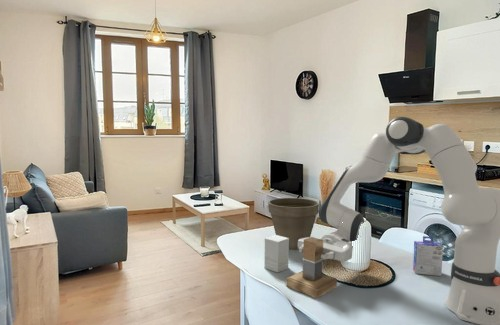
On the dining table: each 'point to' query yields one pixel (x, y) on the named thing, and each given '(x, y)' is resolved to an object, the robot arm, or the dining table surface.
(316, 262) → the block
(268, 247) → the supplement box
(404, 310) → the dining table surface
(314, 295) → the oak plinth
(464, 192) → the robot arm
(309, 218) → the plant pot
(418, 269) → the ink cartridge box
